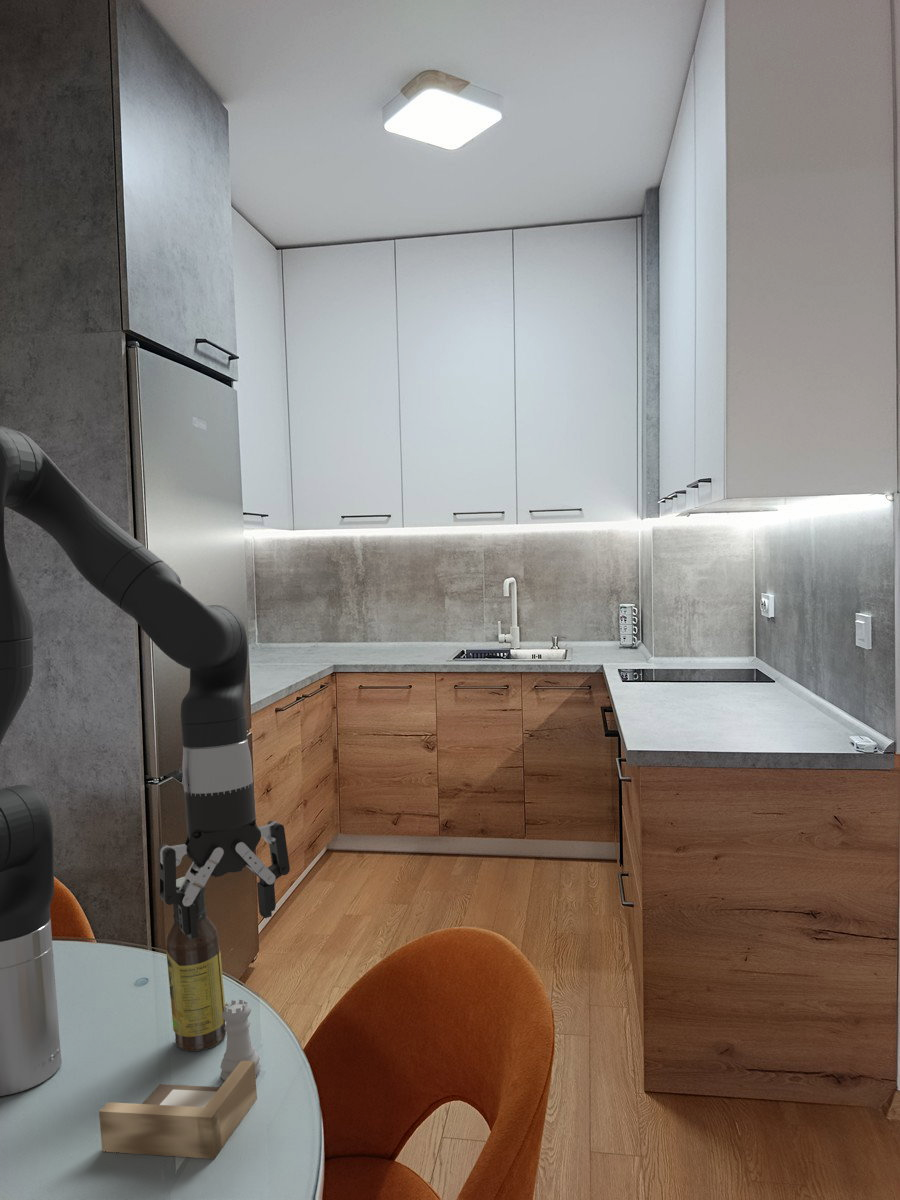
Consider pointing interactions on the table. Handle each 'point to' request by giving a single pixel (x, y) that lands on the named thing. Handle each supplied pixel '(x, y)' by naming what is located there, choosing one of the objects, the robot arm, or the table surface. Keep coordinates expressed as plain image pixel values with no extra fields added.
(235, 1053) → the rook chess piece
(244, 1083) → the wooden tray
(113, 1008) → the table surface
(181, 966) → the sauce bottle
